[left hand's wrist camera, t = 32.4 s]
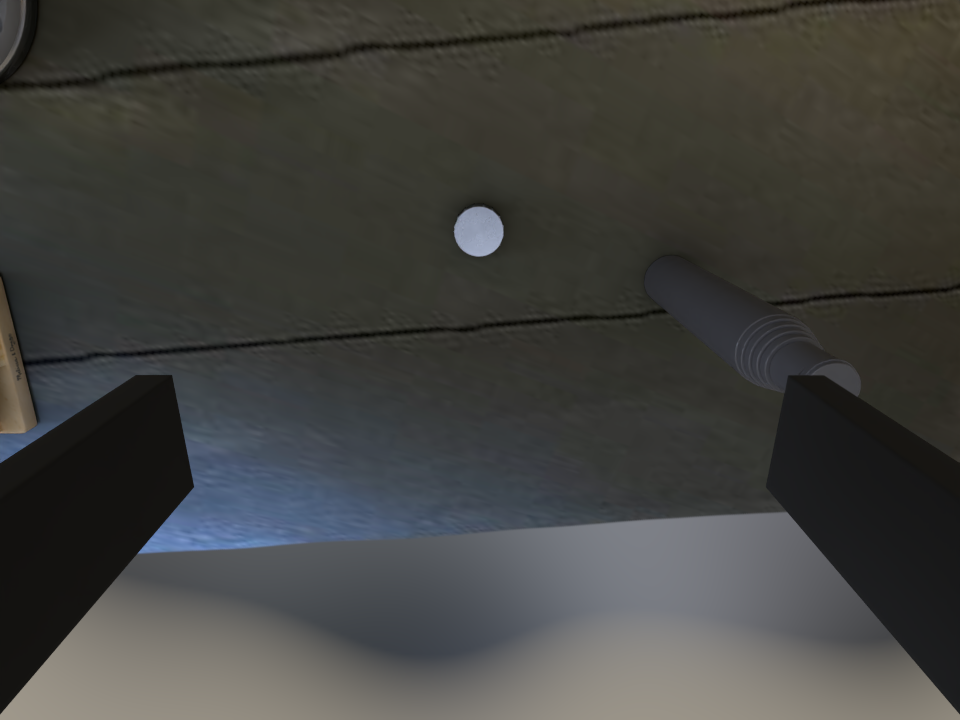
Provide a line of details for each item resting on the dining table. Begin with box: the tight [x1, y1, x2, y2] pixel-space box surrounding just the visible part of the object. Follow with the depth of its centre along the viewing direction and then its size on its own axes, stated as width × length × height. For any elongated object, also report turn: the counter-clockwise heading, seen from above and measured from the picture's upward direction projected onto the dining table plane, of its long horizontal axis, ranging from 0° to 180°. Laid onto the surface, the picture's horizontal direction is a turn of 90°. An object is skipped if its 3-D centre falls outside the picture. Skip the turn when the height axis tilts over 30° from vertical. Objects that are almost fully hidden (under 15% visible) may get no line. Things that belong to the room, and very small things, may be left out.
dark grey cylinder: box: [644, 255, 861, 397], centre depth 37 cm, size 4×4×24 cm
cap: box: [454, 203, 504, 257], centre depth 45 cm, size 4×4×3 cm
